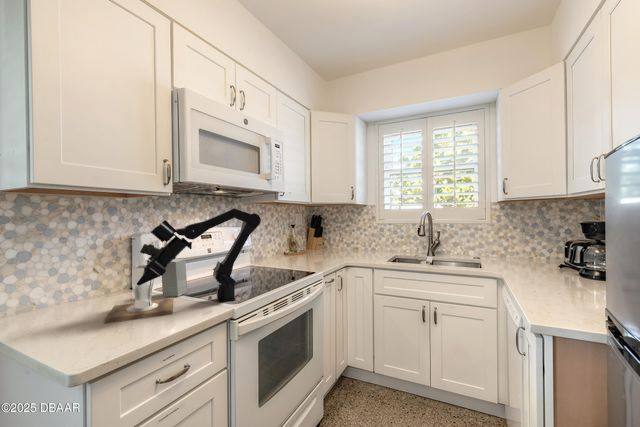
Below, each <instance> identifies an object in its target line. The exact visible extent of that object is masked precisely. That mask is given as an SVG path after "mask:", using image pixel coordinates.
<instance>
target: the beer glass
mask: <svg viewBox="0 0 640 427" xmlns="http://www.w3.org/2000/svg"><path fill="white" fill-rule="evenodd" d="M146 265H147V264H141V265H136V266H133V267H132V268H131V269H132V271H131V285H132V291H133V295H134V302H133V303H134V307H133V309H136V310H140V309H147V308H150V307H152V306H153V304H152V301H153V300H152V293H153V286H154V281H155V279H153V280H150V281H148V282H146V283H144V284H142V285H139V286H138V285H137V282H138V281H139V280H140V278H141V277H142V276H143V274H144V273H145V272H146Z"/></svg>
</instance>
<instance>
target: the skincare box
mask: <svg viewBox="0 0 640 427" xmlns="http://www.w3.org/2000/svg"><path fill="white" fill-rule="evenodd" d="M187 278H188V277H187V264H186V259H185V258H179V259H178V258H175V259H173V260H172V261H171V262H170V263H169V264H168V265H167V267H166V272H165V273H164V274H163V275H162V276H161V288H162V297H175V296H178V297H181V296H183V295H186V294H188V279H187Z"/></svg>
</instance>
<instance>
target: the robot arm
mask: <svg viewBox="0 0 640 427" xmlns="http://www.w3.org/2000/svg"><path fill="white" fill-rule="evenodd" d="M234 219H236V220H238V221H240V222H242V223H241V227H240V228H241V229H240V231H239V233H238V234H237V236H236V238H235V240H234V242H233V243H232V245H231V247H230V248H229V250H228V252H227V254H226V256H225V257H224V259H223V260H222V261H221V262H220V261H219V260H218V261H217V262H216V265H215V267H214V268H213V269H212V270H213V273H212V276H213V278H214V280H215V281H216V282H218V284H217V288H216V299H217V300H218V302H219V303H223V302H231V301H236V297H235V292H236V291H235V290H236V289H235V286H236V285H235V284H236V280H235V279H234V278H233V277H232V276H231V275H232V272H233V268H234V264H235V262H236V260H237V258H238V257H239V255H240V253H241V252H242V250H243V248H244V245H245V244H246V242H247V240H248V239H249V236H250V235H251V234H252V233H253V232H254V231H256V229H257V228H258V227H259V225H260V224H261V221H262V218H261V216H260V215H259V214H257V213H253V212H252V213H249V212H246V211H243V210H240V209H238V208H234V207H233V208H230V209H229V210H227V211H225V212H221V213H220V214H217V215H215V216H213V217H211V218H209V219H206V220H204V221H200V222H195V223H190V224H187V225H185V226H184V227H182V228H175V227H173V225H171V224H170V223H169V221H167V220H166V219H164V220H163V221H162V222H160V223H159V224H158V225H156V226H155V227H154V228H153V229H152V230H151V231H150V233H151V234H152V235H153V236H154V237H155V238H156V239H158V240H159V241H160V242H162V243H163V242H166V243H167V244H165V245H164V246H161V248H158V247H155V245H154V244H151V243H150V244H147V243H143V245H142V248H141V249H140V251H139V253H140V254H143V255H148V256H149V257H148V258H147V260H146V264H145V265H146V272H145V273H144V274H143V276H142V277H141V278H140V280H139V281H138V282H137V285H138V286H139V285H142V284H144V283H146V282H148V281H150V280H153V279H154V280H155V279H157V278H160V277H162V275H163V274H164V273H165V272H166V267H167V265H168V264H169V263H170V262H171V261H172V260H173V259H177V256H178V255H179V254H180V253H182V252H183V250H185V249H186V248H188V249H189V250H192V248H193V247H192V244H193V242H192V240H195V239H197V238H199V237H200V236H202V235H203V234H205V233H206V232H207V231H208V230H211V229H213V228H215V227H217V226H219V225H221V224H223V223H225V222H228V221H231V220H234ZM175 233H176V234H177V235H178V236H177V235H176V234H175ZM179 236H183V237H181V238H180V237H179ZM188 240H191V241H188Z"/></svg>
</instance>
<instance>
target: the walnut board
mask: <svg viewBox="0 0 640 427" xmlns="http://www.w3.org/2000/svg"><path fill="white" fill-rule="evenodd" d="M174 303H175V301H174V298H166V299H157V300H152V304H153V306H152V307H150V308H147V309H140V310H136V309H133V307H134V302H132V303H124V304H115V305H113V307H112V308H111V310H110V311H109V313H108V314H107V315H106V316H105V318H104V324H109V323H117V322H118V323H119V322H124V321H133V320H140V319H147V318H154V317H162V316H169V315H174V313H173V312H174Z"/></svg>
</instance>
